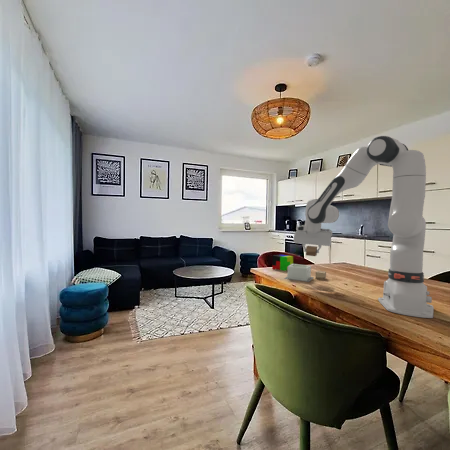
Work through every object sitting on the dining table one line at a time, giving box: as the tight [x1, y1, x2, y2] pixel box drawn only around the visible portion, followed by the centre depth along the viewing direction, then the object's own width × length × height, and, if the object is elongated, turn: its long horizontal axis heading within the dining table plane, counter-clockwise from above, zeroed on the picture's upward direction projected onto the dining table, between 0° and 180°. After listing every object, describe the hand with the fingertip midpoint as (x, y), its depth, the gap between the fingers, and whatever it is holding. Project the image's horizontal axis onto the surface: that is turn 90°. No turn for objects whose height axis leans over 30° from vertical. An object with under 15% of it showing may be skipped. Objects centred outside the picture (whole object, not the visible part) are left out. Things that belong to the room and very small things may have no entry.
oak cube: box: [314, 270, 327, 281], centre depth 146 cm, size 5×5×5 cm
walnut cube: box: [305, 245, 318, 257], centre depth 142 cm, size 5×5×5 cm
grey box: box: [286, 263, 312, 282], centre depth 146 cm, size 11×11×7 cm
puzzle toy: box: [271, 254, 294, 272], centre depth 175 cm, size 10×10×10 cm
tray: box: [283, 276, 315, 283], centre depth 146 cm, size 14×14×1 cm
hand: (311, 252), depth 142 cm, fingers closed on walnut cube, 5 cm apart
